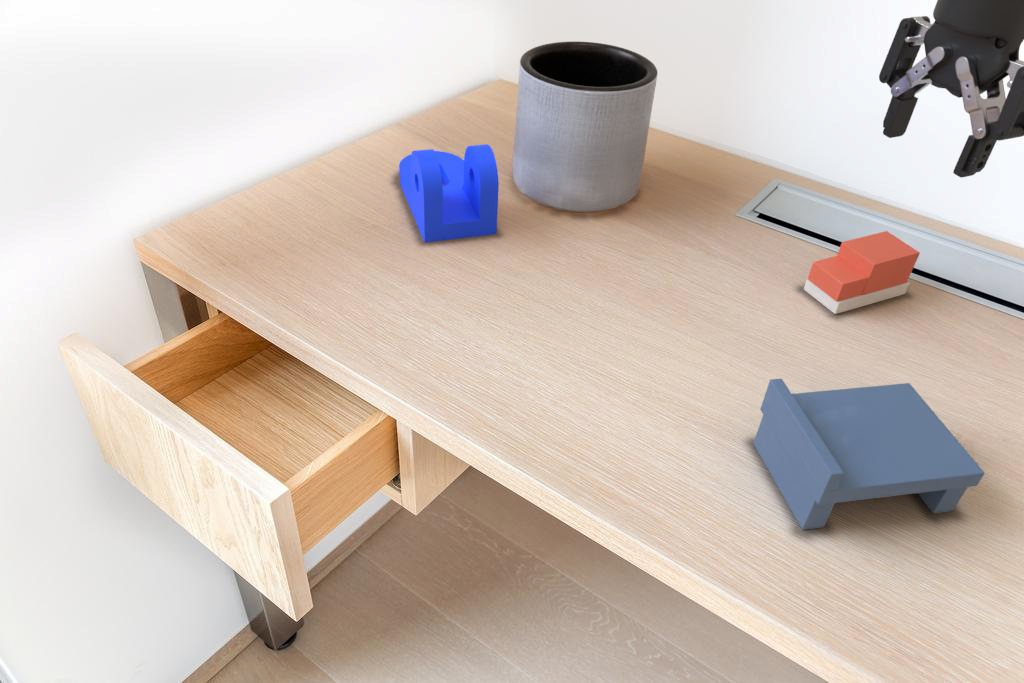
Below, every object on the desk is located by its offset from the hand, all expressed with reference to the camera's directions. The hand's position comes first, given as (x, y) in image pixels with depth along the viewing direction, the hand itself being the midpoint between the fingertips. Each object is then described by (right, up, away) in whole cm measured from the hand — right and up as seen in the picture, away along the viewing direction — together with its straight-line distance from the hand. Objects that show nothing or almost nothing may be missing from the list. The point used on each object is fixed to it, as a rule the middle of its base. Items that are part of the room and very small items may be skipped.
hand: (926, 154), depth 73 cm
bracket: (-47, 0, +23) cm, 52 cm away
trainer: (-2, -12, +12) cm, 17 cm away
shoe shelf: (-11, -28, -9) cm, 32 cm away
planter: (-30, +2, +27) cm, 41 cm away
